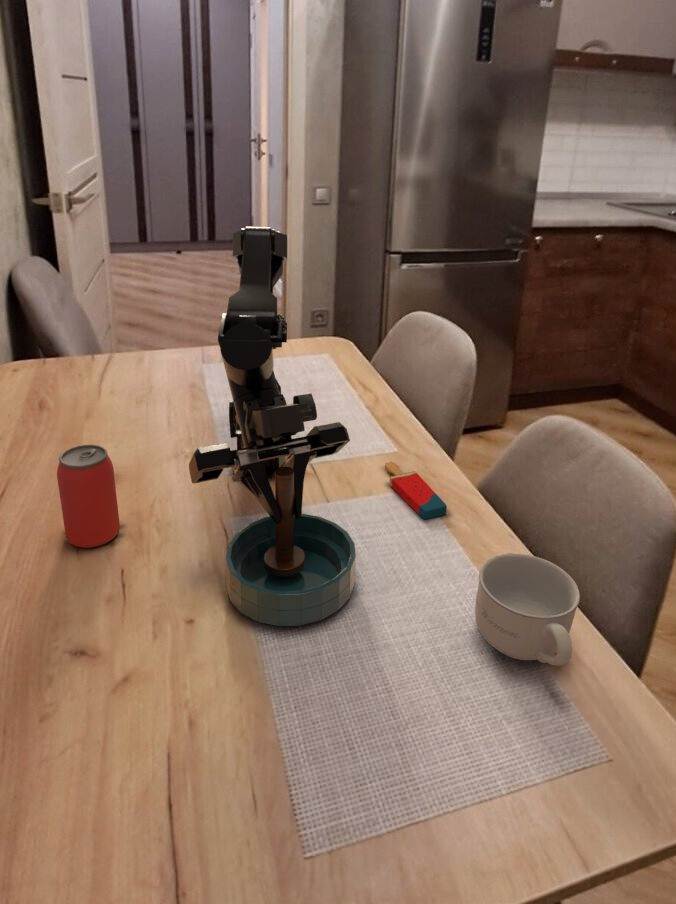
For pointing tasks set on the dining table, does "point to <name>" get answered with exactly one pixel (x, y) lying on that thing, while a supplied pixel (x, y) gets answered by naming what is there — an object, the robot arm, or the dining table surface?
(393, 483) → the popsicle
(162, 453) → the dining table surface
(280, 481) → the wooden peg stand
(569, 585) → the teacup
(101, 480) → the beer can
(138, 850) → the dining table surface
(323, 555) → the bowl
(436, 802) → the dining table surface
